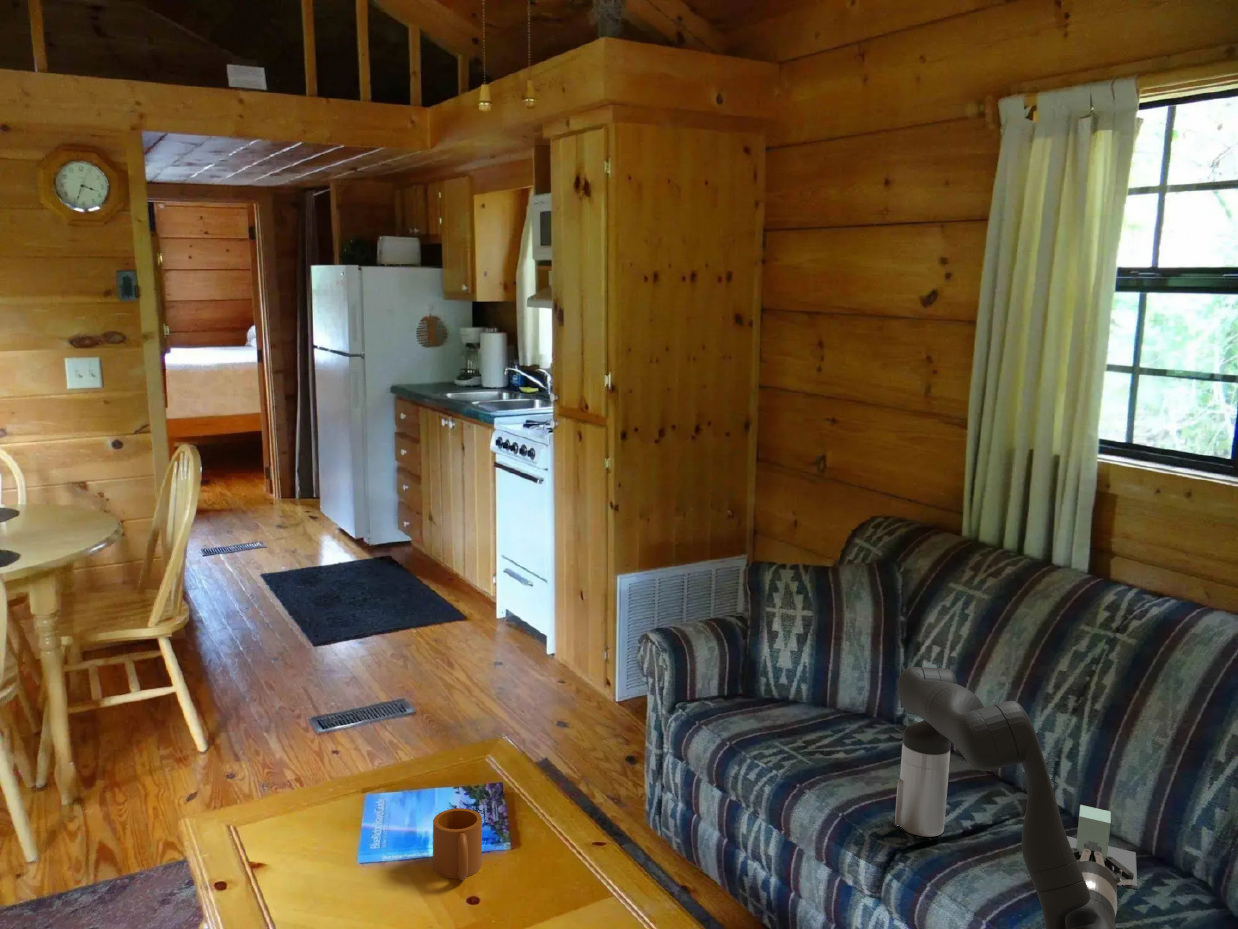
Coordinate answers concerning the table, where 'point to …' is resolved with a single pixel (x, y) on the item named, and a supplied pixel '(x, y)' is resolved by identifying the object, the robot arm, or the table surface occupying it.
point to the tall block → (1093, 828)
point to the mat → (1118, 858)
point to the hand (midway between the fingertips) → (1092, 847)
